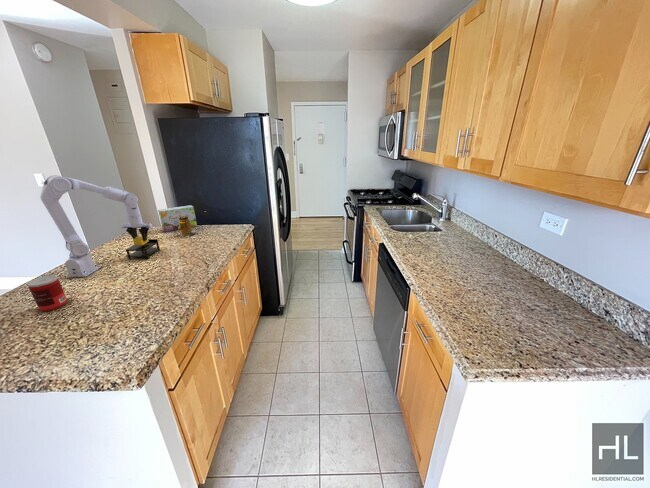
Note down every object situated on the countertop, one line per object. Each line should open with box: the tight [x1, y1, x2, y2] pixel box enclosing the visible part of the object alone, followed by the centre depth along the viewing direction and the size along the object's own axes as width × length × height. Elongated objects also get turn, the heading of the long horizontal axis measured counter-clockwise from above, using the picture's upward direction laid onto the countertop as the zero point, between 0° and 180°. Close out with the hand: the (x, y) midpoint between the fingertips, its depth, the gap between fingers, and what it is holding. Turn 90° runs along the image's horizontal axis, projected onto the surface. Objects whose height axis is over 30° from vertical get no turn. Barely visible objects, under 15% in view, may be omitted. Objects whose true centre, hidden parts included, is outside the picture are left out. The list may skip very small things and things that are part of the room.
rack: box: [125, 238, 161, 260], centre depth 140 cm, size 12×10×7 cm
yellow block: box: [132, 234, 149, 245], centre depth 138 cm, size 6×4×4 cm, turn 3°
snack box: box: [157, 204, 198, 233], centre depth 181 cm, size 21×6×15 cm, turn 132°
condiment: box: [179, 216, 197, 238], centre depth 170 cm, size 7×8×12 cm
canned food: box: [27, 274, 68, 312], centre depth 95 cm, size 8×8×11 cm
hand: (141, 240), depth 138 cm, fingers closed on yellow block, 4 cm apart
